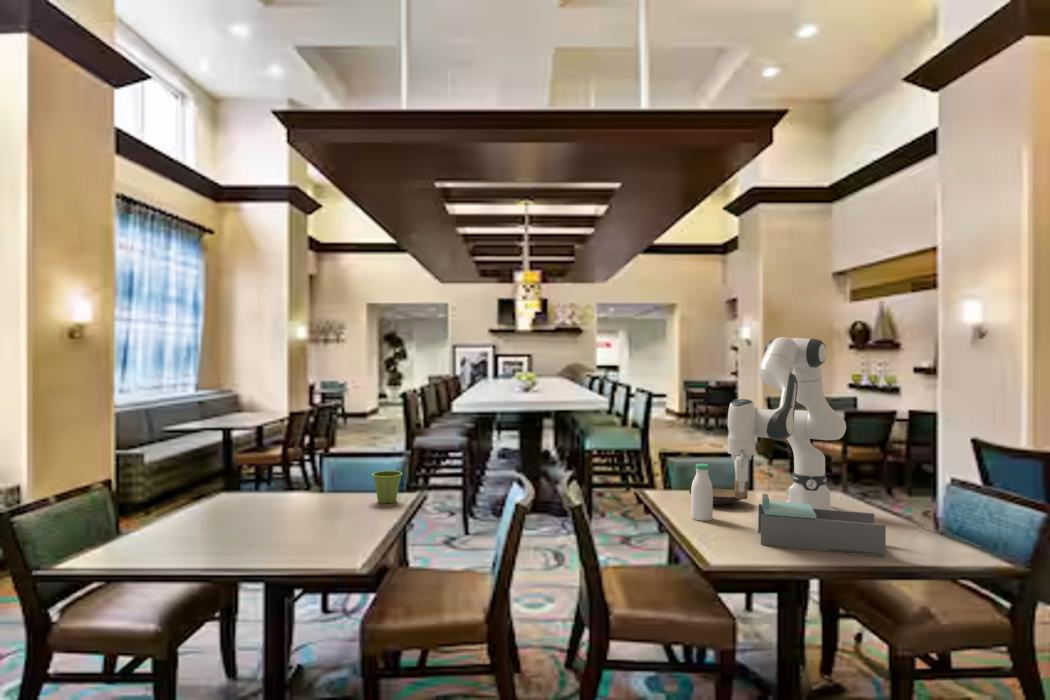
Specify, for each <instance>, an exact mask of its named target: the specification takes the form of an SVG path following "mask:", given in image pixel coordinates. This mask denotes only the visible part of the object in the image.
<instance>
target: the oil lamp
mask: <svg viewBox="0 0 1050 700" xmlns="http://www.w3.org/2000/svg"><path fill="white" fill-rule="evenodd" d="M695 476H696V475H694V476H693V479H692V480H694V478H695ZM712 488H713V487H712ZM688 494H690V495H691V489H689V491H688ZM741 500H743V499H737V498H735V489H726V488H716V487H715V488H713V505H730V504H733V503H736V502H739V501H741Z"/></svg>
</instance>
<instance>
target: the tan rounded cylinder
mask: <svg viewBox="0 0 1050 700" xmlns="http://www.w3.org/2000/svg"><path fill="white" fill-rule="evenodd" d="M748 482H749V480H748V481H747V482H745V486H744V492H739V485H738V481H737V480H736V475H735V476H734V490H735V498H737V499H742V500H747V499H748V485H749V484H748Z"/></svg>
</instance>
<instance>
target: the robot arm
mask: <svg viewBox="0 0 1050 700" xmlns="http://www.w3.org/2000/svg"><path fill="white" fill-rule="evenodd" d="M763 353H764V355H763V357H762V359H761V361H760V364H759V367H758V374H759V377H760V378H761V380H762V381H763V382H764V383H765V384H766V385H767V386H769V387H771V388H773V389H776V390H777V391H780V392H781V394H780V395H781V396H780V401H779V406H778V408H774V409H770V408H769V409H766V408H758V407H756V406H755V404H754V401H753V400H751V399H746V398H741V399H735V400H732V401H731V402H730V403H729V407H728V411H727V412H728V413H727V429H728V435H727V454H729V455H731V457H730V459H733V464H734V472H735V473H734V474H735V476H736V480H737V481H738V485H739V492H744V486H745V482H747V481H748V482H749V461H751V460H752V456H755V455H756V437H757V438H766V439H771V440H777V441H781V442H782V441H785V440H787V441H788V443H789V445H790V447H791V450H792V452H793V463H794V466H793V467H794V468H793V469H794V471H793V473H792V474H793V475H792V482H793V483H792V484H791V485H790V486H789V488H788V489H786V496H787V499H786V500H785V502H791V503H803V504H810V506H811V507H812V508H817V509H830V510H836V508H834V507H833V506H832V502H831V499H832V498H831V490H830V489H829V487H828V486H827V474H826V456H825V454H824V453H823V452H822V451H821V450H820V449H818V448H816V447H814V445H813V444H812V443H811V439H812V440H819V441H820V440H821V441H834V440H835V441H836V440H840V439H842V438H843V436H844V435H845V433H846V431H847V423H846V421H845V419H844V417H843V416H842V415H841V414H839V413H838V412H836V411H835V410H834V409H833V408H832V407H831V406H830V404H829V403H828V400H827V399H826V397H825V394H824V386H823V378H822V375H823V374H822V369H821V366H822V365H823V364H824V363H825V361H826V358H827V347H826V343H824V342H823V341H822V340H820V339H817V338H805V337H793V338H791V337H786V336H780V337H779V336H778V337H777V338H774V339H770V340H769V341H768V342H767V343H766V344H765V346H764V351H763ZM797 403H799V404H800V405H802V406H804V407H805V409H807V410H801V409H799V410H798V409H796V404H797Z"/></svg>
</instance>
